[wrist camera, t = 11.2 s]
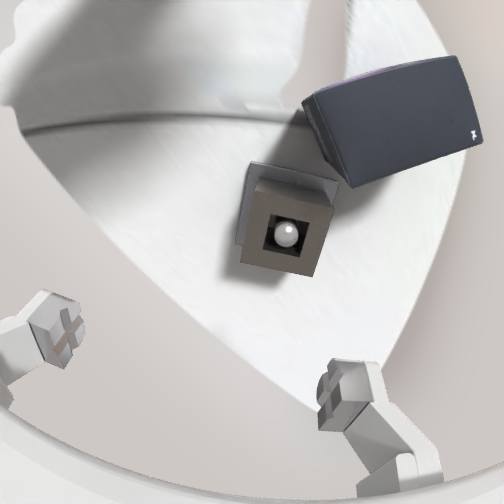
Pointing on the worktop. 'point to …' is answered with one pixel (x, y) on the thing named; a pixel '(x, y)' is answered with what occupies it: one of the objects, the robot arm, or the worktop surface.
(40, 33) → the worktop surface
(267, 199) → the collar
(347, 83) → the small box
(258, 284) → the worktop surface
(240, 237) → the shaft stand
